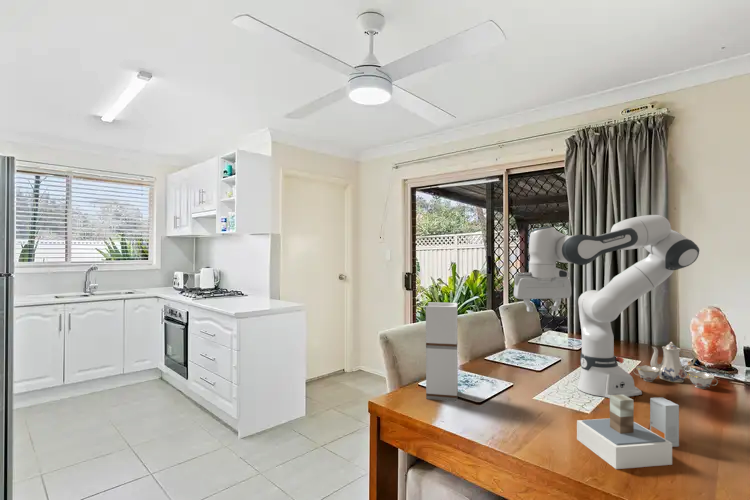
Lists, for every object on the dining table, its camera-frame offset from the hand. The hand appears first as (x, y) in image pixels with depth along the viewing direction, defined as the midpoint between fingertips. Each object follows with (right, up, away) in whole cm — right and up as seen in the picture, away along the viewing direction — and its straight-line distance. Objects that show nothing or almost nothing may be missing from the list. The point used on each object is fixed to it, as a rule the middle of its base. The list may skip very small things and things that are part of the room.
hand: (542, 311), depth 142 cm
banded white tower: (-34, -34, +12) cm, 50 cm away
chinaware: (+66, -34, +26) cm, 78 cm away
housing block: (+9, -28, -31) cm, 43 cm away
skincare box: (+25, -34, -26) cm, 50 cm away
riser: (+9, -34, -31) cm, 47 cm away
